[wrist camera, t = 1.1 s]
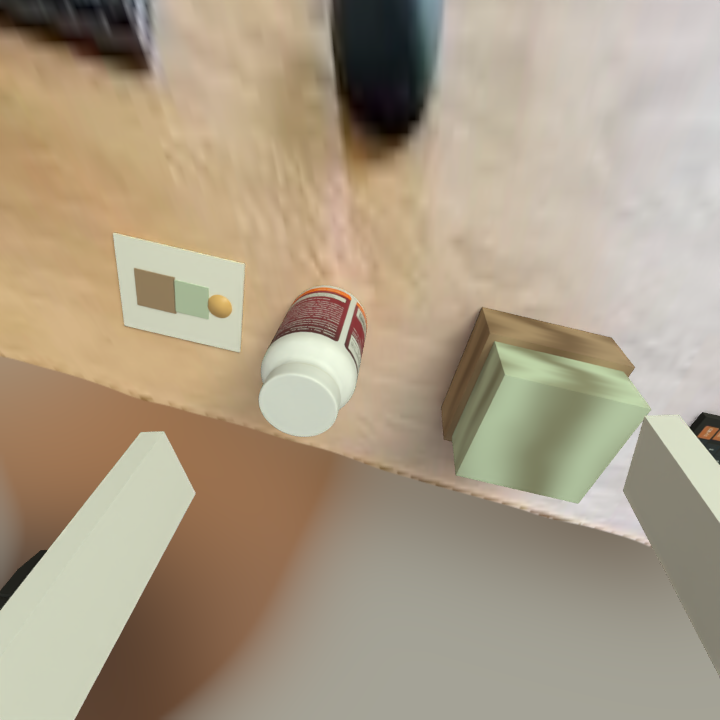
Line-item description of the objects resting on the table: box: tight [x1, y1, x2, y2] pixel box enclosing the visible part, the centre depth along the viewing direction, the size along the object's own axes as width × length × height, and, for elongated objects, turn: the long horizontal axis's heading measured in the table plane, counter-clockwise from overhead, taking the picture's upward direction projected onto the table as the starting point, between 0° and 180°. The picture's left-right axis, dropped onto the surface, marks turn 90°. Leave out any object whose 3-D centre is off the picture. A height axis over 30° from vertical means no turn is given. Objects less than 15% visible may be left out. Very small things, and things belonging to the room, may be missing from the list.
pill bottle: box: [259, 285, 367, 437], centre depth 29 cm, size 6×6×11 cm
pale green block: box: [441, 307, 651, 503], centre depth 31 cm, size 10×10×8 cm
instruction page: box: [113, 233, 245, 352], centre depth 34 cm, size 10×8×1 cm
